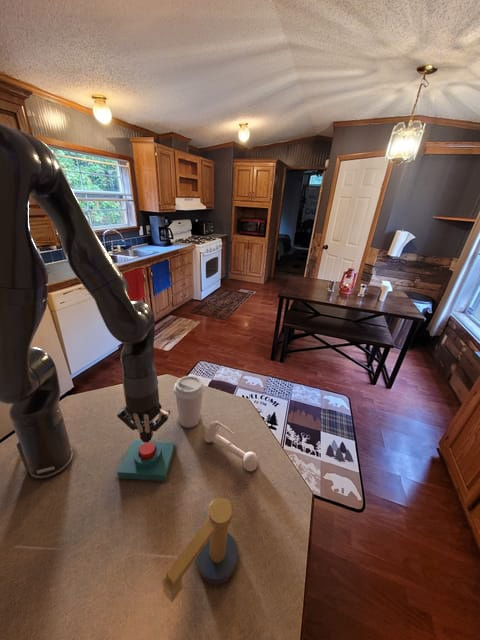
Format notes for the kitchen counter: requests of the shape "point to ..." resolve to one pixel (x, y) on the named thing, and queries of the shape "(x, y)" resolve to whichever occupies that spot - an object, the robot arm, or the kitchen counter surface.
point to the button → (147, 450)
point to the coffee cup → (189, 400)
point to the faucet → (230, 445)
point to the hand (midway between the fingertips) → (147, 439)
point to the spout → (197, 546)
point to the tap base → (218, 558)
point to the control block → (147, 462)
